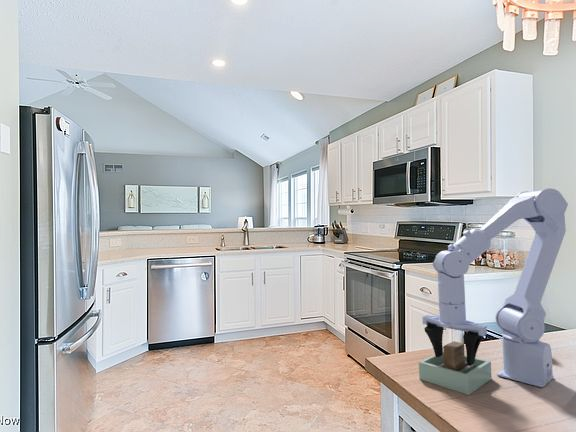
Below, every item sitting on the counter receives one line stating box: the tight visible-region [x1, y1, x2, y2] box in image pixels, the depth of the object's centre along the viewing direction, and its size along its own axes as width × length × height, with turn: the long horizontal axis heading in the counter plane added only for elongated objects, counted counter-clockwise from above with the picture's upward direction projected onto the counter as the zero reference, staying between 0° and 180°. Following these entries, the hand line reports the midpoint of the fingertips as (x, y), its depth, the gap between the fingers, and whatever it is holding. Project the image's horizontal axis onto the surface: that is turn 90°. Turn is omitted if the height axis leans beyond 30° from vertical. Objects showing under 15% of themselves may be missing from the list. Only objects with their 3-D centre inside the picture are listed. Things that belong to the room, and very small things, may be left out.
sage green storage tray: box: [418, 350, 493, 396], centre depth 89 cm, size 12×12×4 cm
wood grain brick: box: [442, 341, 466, 372], centre depth 89 cm, size 2×5×8 cm, turn 130°
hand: (454, 360), depth 89 cm, fingers open, 7 cm apart
